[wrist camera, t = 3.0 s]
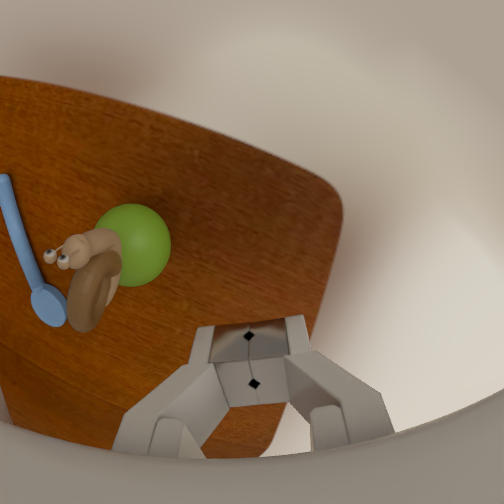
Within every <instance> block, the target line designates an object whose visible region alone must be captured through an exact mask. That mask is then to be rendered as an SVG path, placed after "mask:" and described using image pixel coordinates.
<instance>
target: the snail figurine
mask: <svg viewBox="0 0 504 504" xmlns="http://www.w3.org/2000/svg"><path fill="white" fill-rule="evenodd" d="M61 248H62V255H61V256H59V257H58V259H57V265H58V267H59V268H60V269H63V270H65V269H67V268H69V267H70V268H72V269H76V271H75V273H74V275H73V278H72V280H71V283H70V286H69V290H68V295H67V305H66V309H67V317H68V320H69V323H70V324H71V326H72V327H73V328H74V329H75V330H76V331H79V332H82V333H84V332H89V331H91V330H92V329H93V328H94V327H95V326H96V325H97V323H98V322H99V320H100V318H101V316H102V314H103V311H104V309H105V306H107V305H108V304H109V303H110V301H111V300H112V298H113V296H114V294H115V292H116V289H117V286H118V285H121V286H127V287H135V286H140V285H144V284H146V283H148V282H150V281H152V280H153V279H155V278H156V277H157V276H158V275H159V274H160V273H161V272H162V270H163V269H164V267H165V266H166V264H167V262H168V259H169V256H170V250H171V240H170V234H169V231H168V228H167V226H166V224H165V222H164V221H163V220H162V218H161V217H160V216H159V215H158V214H157V213H156V212H155V211H153V210H152V209H150V208H148V207H146V206H143V205H140V204H122V205H119V206H116V207H114V208H112V209H110V210H109V211H107V212H106V213H105V214H104V215H103V216H102V217H101V218H100V220H99V221H98V222H97V224H96V226H95V228H94V230H90V231H87V232H85V233H83V234H82V235H80V234H76V235H72V236H70V237H69V238H68V239H67V240H66V241H65V242H64V244H63V245H62V246H60V247H59V248H57V249H56V250H55V251H54V250H52V249H48V250H46V251H45V252H44V256H43V257H44V260H45V262H46V263H48V264H52V263H54V262H55V261H56V258H57V254H56V252H57V251H58V250H59V249H61Z"/></svg>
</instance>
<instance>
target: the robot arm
mask: <svg viewBox="0 0 504 504" xmlns="http://www.w3.org/2000/svg"><path fill="white" fill-rule="evenodd" d="M281 402H290V404H291V405H292V406H293V407H294V408H295V409H296V410H297V411H298V412H299V413H300V414H301V415H302V416H303V417H304V419H305V420H306V421H307V422H308V423H309V424H310V437H311V452H305V453H298V454H289V455H281V456H270V457H256V458H236V459H206V457H205V456H204V454H203V453H202V451H201V450H200V447H201V446H202V445H203V444H204V442H205V441H206V440H207V438H208V437H209V436H210V434H211V433H212V432H213V431H214V429H215V428H216V427H217V425H218V424H219V423H220V421H221V420H222V419H223V417H224V416H225V415H226V413H227V412H228V411H229V407H239V406H249V405H258V404H270V403H281ZM0 504H504V389H502V390H500V391H498V392H496V393H494V394H493V395H491V396H489V397H487V398H485V399H482V400H480V401H478V402H476V403H474V404H472V405H469V406H467V407H465V408H463V409H460V410H458V411H456V412H453V413H451V414H449V415H446V416H443V417H441V418H438V419H435V420H433V421H430V422H427V423H424V424H421V425H418V426H416V427H412V428H409V429H406V430H403V431H400V432H396V433H395V431H394V429H393V426H392V423H391V420H390V417H389V415H388V412H387V410H386V407H385V404H384V401H383V399H382V396H381V393H379V392H378V391H376V390H375V389H373V388H372V387H370V386H369V385H367V384H366V383H364V382H362V381H361V380H359V379H358V378H356V377H355V376H353V375H352V374H350V373H349V372H347V371H346V370H344V369H343V368H341V367H340V366H339V365H337V364H335V363H334V362H333V361H331V360H330V359H328V358H327V357H325V356H324V355H322V354H321V353H320V352H318V351H311V347H310V342H309V338H308V333H307V329H306V325H305V320H304V316H303V315H302V314H299V315H294V316H288V317H285V319H284V318H279V319H272V320H265V321H258V322H247V323H237V324H226V325H216V326H204V327H199V328H198V329H197V331H196V334H195V338H194V342H193V346H192V350H191V354H190V357H189V361H188V365H182V366H181V367H180V368H179V369H177V370H176V371H175V372H174V373H173V374H172V375H170V376H169V377H168V378H167V379H166V380H165V381H163V382H162V383H161V384H160V385H159V386H157V387H156V388H155V389H154V390H153V391H151V392H150V393H149V394H148V395H147V396H145V397H144V398H143V399H142V400H141V401H139V402H138V403H137V404H136V405H135V406H133V407H132V408H131V409H130V410H128V411H127V412H126V413H125V414H124V416H123V419H122V422H121V424H120V427H119V430H118V432H117V435H116V438H115V441H114V444H113V446H112V449H111V450H106V449H101V448H96V447H91V446H86V445H81V444H77V443H73V442H69V441H65V440H61V439H57V438H53V437H50V436H46V435H43V434H40V433H36V432H33V431H30V430H27V429H24V428H21V427H18V426H16V425H13V424H10V423H7V422H5V421H2V420H0Z"/></svg>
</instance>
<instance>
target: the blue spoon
mask: <svg viewBox="0 0 504 504" xmlns="http://www.w3.org/2000/svg"><path fill="white" fill-rule="evenodd" d="M0 206H1V209H2V212H3V216H4V219H5V222H6V225H7V228H8V231H9V234H10V237H11V240H12V243H13V246H14V248H15V251H16V254H17V256H18V259H19V262H20V264H21V267H22V269H23V271H24V274H25V276H26V278H27V281H28V283H29V285H30V288H31V289H32V291H33V292H32V294H31V303H32V307H33V309H34V311H35V312H36V314H37V315H38V317H39V318H40V319H41V320H42V321H44V322H45V323H46V324H48V325H50V326H53V327H59V326H62V325H63V324H64V322H65V321H66V320H67V319H68V317H67V309H66V305H67V301H66V299H65V297H64V296H63V295H62V293H61V292H60V291H59V290H58V289H56V288H55V287H53V286H52V285H49V284H45V282H44V279H43V277H42V275H41V272H40V270H39V267H38V265H37V262H36V260H35V257H34V255H33V252H32V249H31V246H30V244H29V241H28V238H27V235H26V232H25V229H24V226H23V223H22V220H21V217H20V214H19V210H18V207H17V203H16V200H15V196H14V192H13V188H12V185H11V180H10V177H9V176H8V175H7V174H0Z"/></svg>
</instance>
